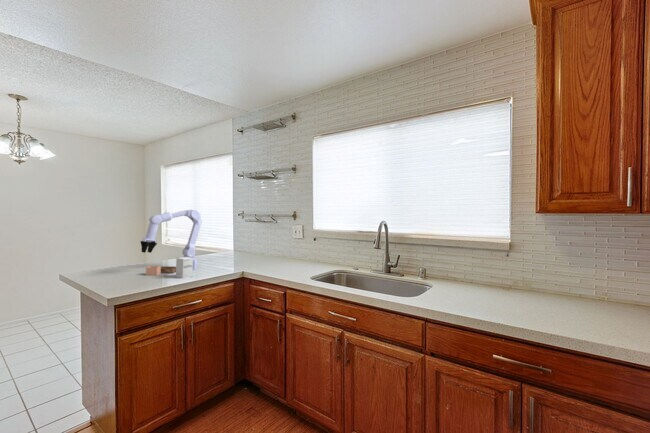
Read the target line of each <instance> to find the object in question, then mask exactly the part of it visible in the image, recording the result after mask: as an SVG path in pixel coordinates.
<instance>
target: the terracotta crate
mask: <svg viewBox="0 0 650 433" xmlns="http://www.w3.org/2000/svg"><path fill="white" fill-rule="evenodd" d="M161 267H162V266H158V265H157V266H156V265H153V266H152V265H151V266H150V265H149V266H146V267H145V275H159V274H161Z"/></svg>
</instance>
